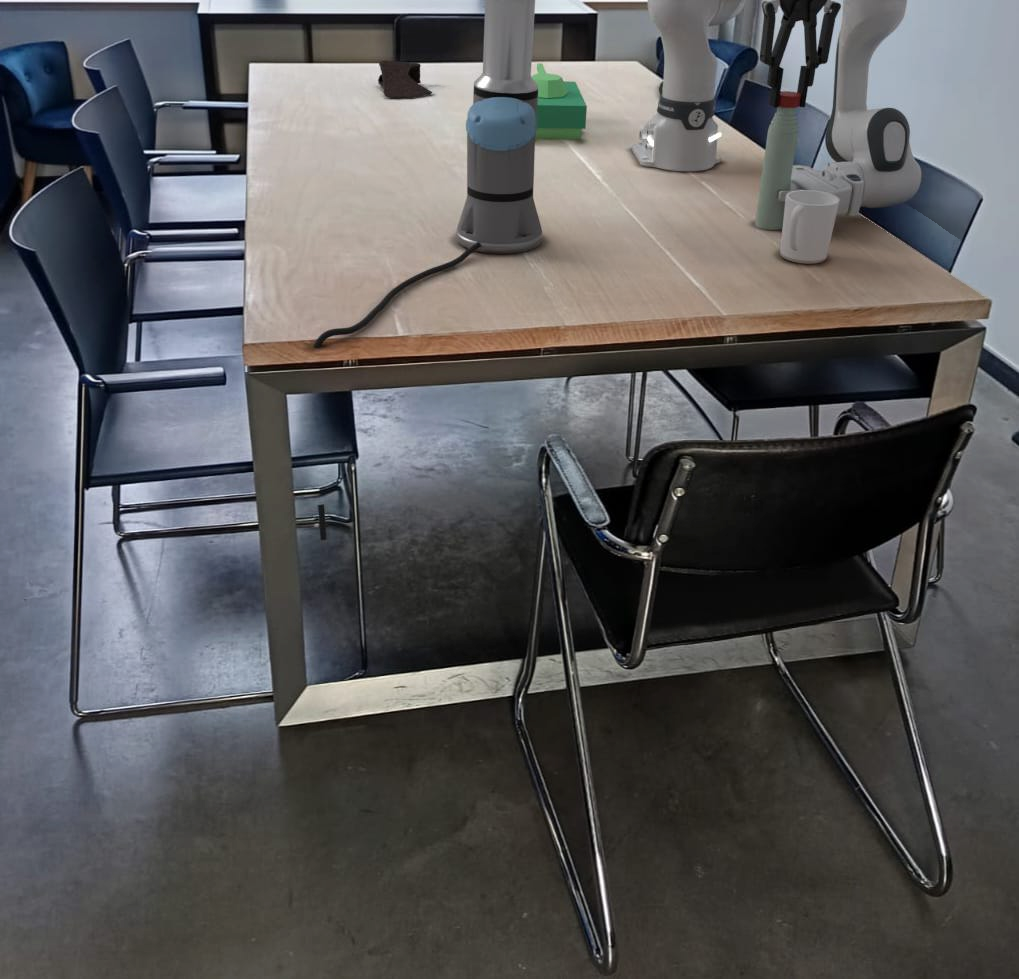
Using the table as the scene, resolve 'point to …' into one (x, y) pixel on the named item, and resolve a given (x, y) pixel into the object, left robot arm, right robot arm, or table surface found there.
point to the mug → (808, 225)
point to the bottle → (777, 168)
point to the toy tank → (558, 108)
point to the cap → (789, 99)
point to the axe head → (401, 79)
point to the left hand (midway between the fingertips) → (786, 105)
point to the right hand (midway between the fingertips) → (770, 190)
